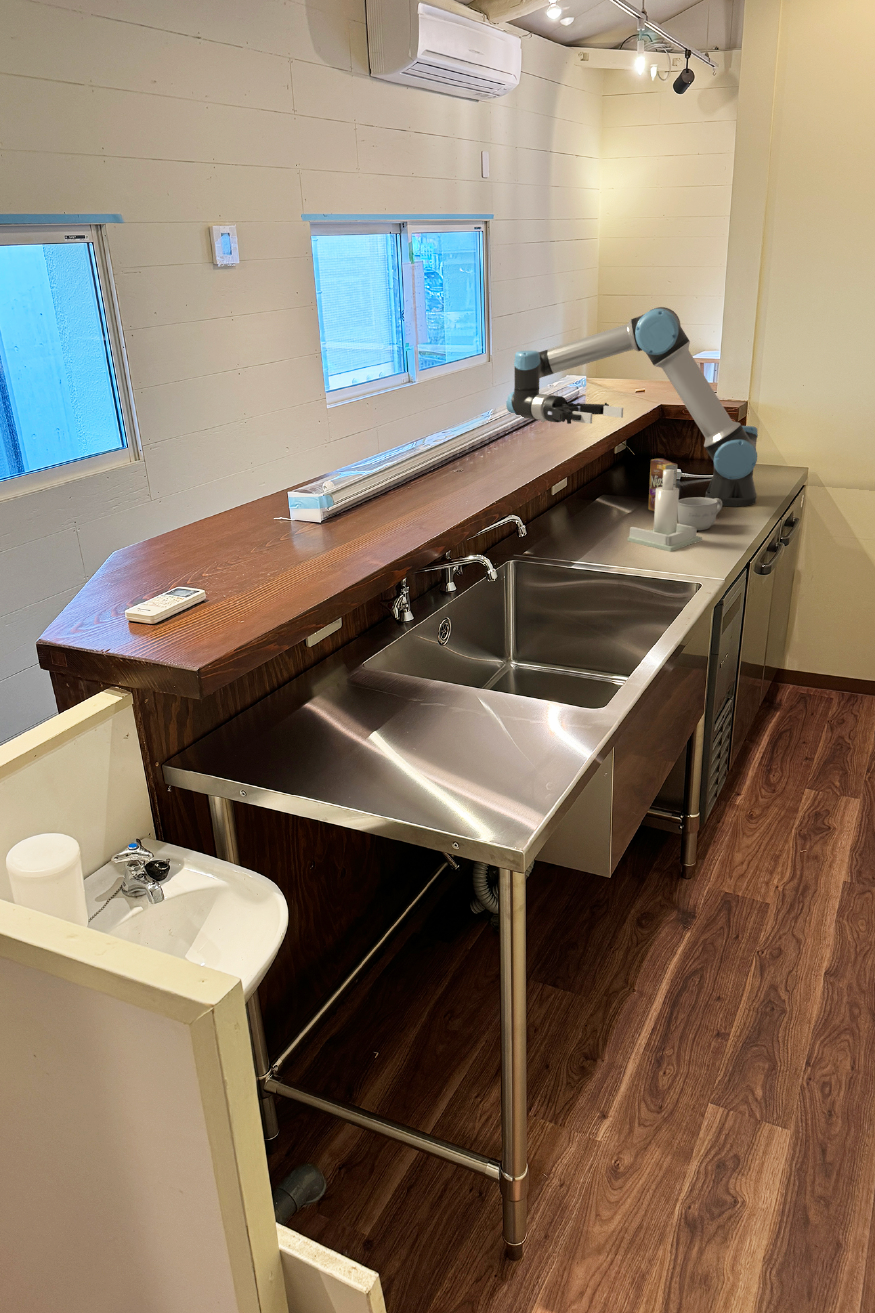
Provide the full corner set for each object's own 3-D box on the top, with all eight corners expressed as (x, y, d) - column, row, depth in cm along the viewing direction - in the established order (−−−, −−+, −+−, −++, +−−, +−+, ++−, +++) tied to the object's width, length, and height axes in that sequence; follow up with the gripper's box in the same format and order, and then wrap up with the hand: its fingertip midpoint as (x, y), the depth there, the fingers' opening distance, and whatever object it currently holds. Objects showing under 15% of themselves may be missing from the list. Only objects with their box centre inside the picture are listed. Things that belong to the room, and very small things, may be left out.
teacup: (687, 534, 262) (690, 506, 259) (668, 524, 271) (670, 497, 268) (732, 530, 265) (735, 501, 262) (712, 520, 275) (714, 493, 272)
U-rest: (658, 530, 266) (659, 518, 264) (701, 540, 256) (702, 528, 255) (627, 540, 257) (628, 528, 256) (670, 551, 248) (671, 538, 246)
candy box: (646, 509, 288) (650, 459, 282) (659, 508, 289) (663, 457, 283) (661, 516, 280) (665, 464, 274) (674, 515, 281) (678, 463, 275)
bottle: (661, 532, 260) (666, 467, 253) (680, 536, 256) (685, 470, 249) (648, 537, 257) (652, 470, 250) (667, 541, 252) (671, 473, 245)
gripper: (577, 416, 291) (633, 423, 276) (521, 426, 276) (577, 435, 261) (578, 390, 288) (635, 396, 273) (521, 400, 273) (578, 407, 258)
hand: (607, 415), depth 267 cm, fingers open, 13 cm apart
